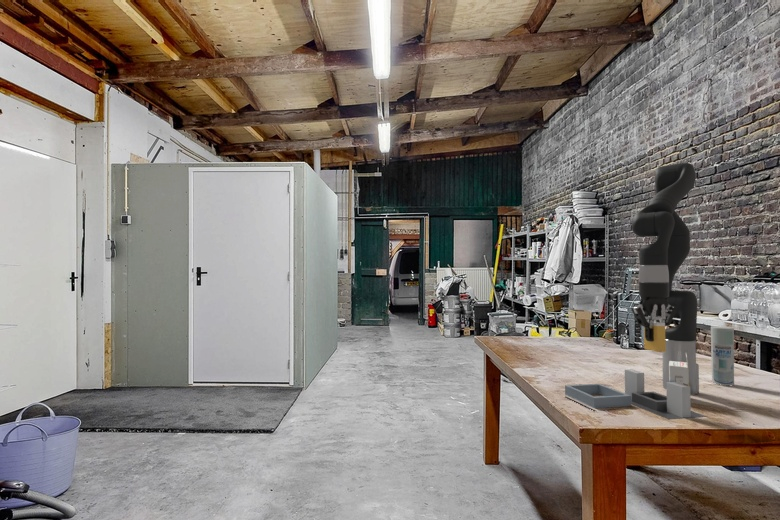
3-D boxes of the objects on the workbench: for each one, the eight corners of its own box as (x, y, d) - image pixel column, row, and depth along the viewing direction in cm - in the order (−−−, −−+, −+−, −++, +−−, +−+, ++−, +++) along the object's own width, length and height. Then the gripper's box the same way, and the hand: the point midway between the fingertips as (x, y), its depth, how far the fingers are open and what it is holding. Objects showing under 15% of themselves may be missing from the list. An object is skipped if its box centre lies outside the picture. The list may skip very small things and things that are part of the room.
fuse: (652, 348, 129) (651, 321, 130) (665, 351, 124) (664, 323, 125) (644, 349, 129) (643, 321, 129) (657, 351, 124) (657, 323, 124)
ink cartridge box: (669, 398, 137) (668, 350, 138) (688, 400, 135) (687, 352, 135) (669, 404, 130) (668, 355, 130) (689, 407, 127) (689, 356, 128)
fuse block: (644, 397, 138) (643, 368, 138) (707, 420, 117) (706, 386, 117) (610, 399, 136) (610, 369, 136) (668, 423, 114) (668, 388, 114)
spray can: (733, 383, 156) (732, 326, 156) (735, 387, 150) (734, 328, 151) (710, 380, 159) (710, 325, 160) (712, 384, 154) (711, 327, 154)
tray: (599, 395, 139) (599, 383, 140) (631, 409, 126) (631, 395, 126) (565, 397, 137) (564, 385, 137) (594, 411, 123) (594, 398, 124)
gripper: (663, 280, 132) (664, 338, 132) (623, 280, 129) (624, 339, 129) (685, 281, 125) (686, 342, 124) (642, 281, 122) (643, 343, 122)
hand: (654, 340), depth 127 cm, fingers closed on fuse, 2 cm apart
